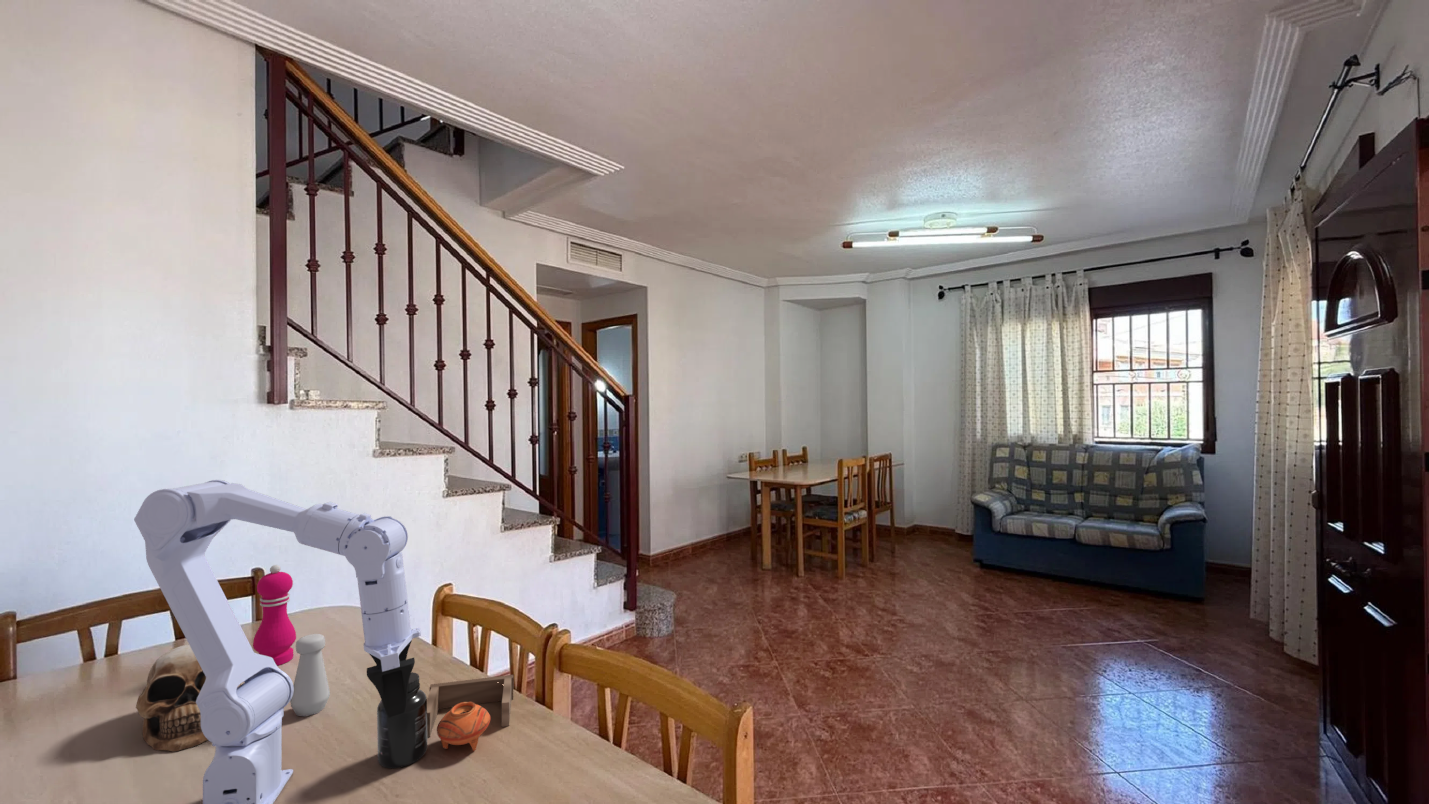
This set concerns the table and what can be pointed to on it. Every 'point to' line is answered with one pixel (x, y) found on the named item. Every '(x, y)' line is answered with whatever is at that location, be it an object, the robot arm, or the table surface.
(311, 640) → the salt shaker
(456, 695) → the cradle
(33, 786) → the table surface
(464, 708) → the pot
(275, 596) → the pepper mill
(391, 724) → the supplement bottle
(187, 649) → the skull
